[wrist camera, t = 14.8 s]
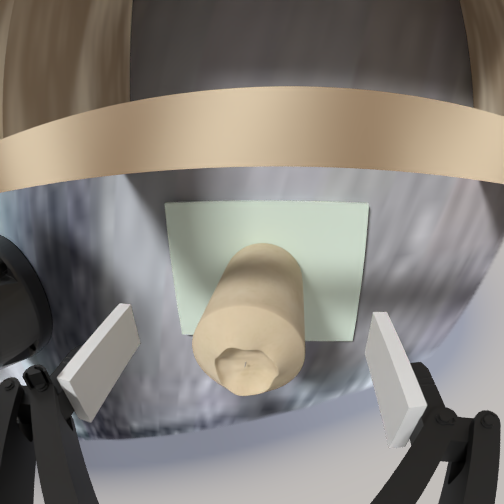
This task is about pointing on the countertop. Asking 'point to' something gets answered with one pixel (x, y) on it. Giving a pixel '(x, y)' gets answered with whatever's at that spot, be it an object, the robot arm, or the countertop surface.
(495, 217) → the countertop surface
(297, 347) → the candle
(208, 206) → the mat
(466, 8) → the access cubby
